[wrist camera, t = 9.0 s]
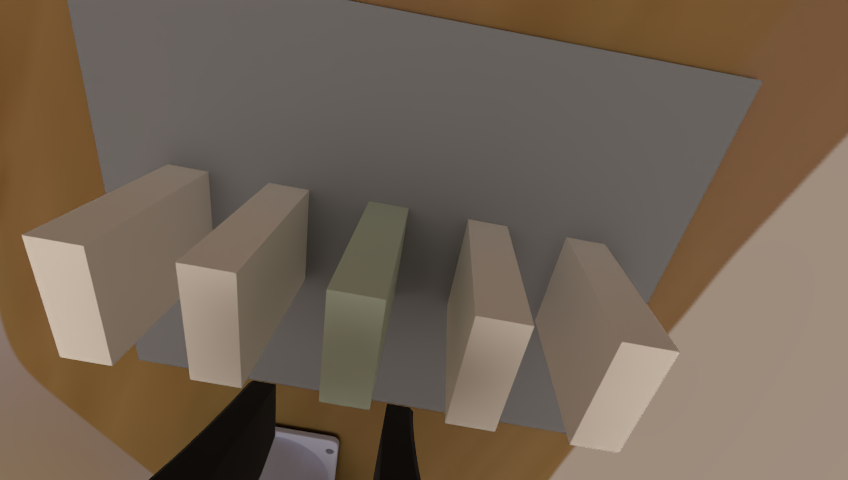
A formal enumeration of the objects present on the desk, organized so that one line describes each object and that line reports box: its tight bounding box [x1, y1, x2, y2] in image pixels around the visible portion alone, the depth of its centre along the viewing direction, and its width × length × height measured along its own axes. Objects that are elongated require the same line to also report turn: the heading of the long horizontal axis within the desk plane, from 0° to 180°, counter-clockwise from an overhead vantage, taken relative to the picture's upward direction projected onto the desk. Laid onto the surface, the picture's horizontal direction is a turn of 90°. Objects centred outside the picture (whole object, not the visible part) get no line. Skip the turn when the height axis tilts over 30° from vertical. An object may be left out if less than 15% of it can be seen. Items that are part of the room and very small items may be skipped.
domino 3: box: [445, 219, 534, 432], centre depth 17 cm, size 2×5×7 cm, turn 170°
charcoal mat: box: [67, 0, 763, 433], centre depth 20 cm, size 20×26×1 cm
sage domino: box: [319, 201, 409, 410], centre depth 17 cm, size 2×5×7 cm, turn 171°
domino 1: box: [22, 164, 213, 366], centre depth 16 cm, size 2×5×7 cm, turn 171°
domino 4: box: [535, 237, 680, 453], centre depth 17 cm, size 2×5×7 cm, turn 170°
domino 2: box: [175, 183, 309, 388], centre depth 16 cm, size 2×5×7 cm, turn 170°
